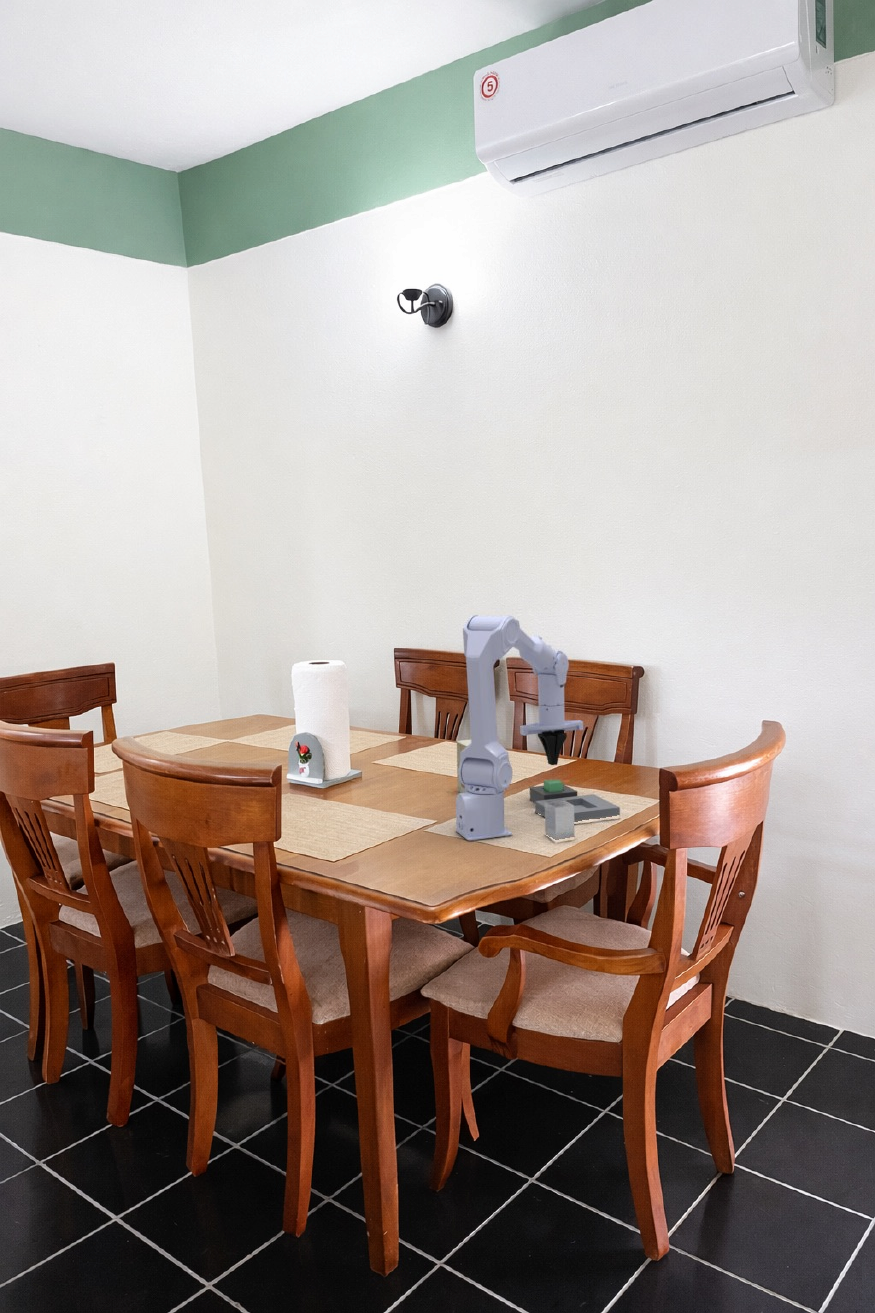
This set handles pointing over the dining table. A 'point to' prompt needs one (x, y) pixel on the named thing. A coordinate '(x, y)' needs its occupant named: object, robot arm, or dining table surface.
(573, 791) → the button housing
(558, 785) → the button
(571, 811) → the block
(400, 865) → the dining table surface
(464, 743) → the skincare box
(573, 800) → the pocket plate
